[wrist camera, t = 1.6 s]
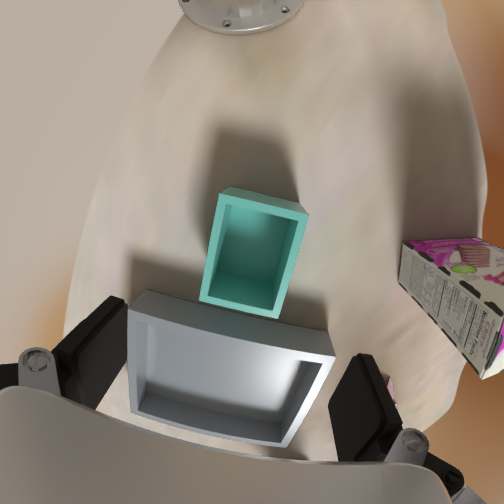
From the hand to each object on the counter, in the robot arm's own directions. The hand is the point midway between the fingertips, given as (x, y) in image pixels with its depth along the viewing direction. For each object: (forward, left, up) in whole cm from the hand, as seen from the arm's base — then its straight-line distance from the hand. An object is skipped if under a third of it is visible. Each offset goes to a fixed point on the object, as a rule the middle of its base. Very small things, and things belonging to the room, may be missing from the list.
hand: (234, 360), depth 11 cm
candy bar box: (-3, +20, -17) cm, 27 cm away
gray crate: (+16, 0, -17) cm, 23 cm away
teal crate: (0, 0, -17) cm, 17 cm away
